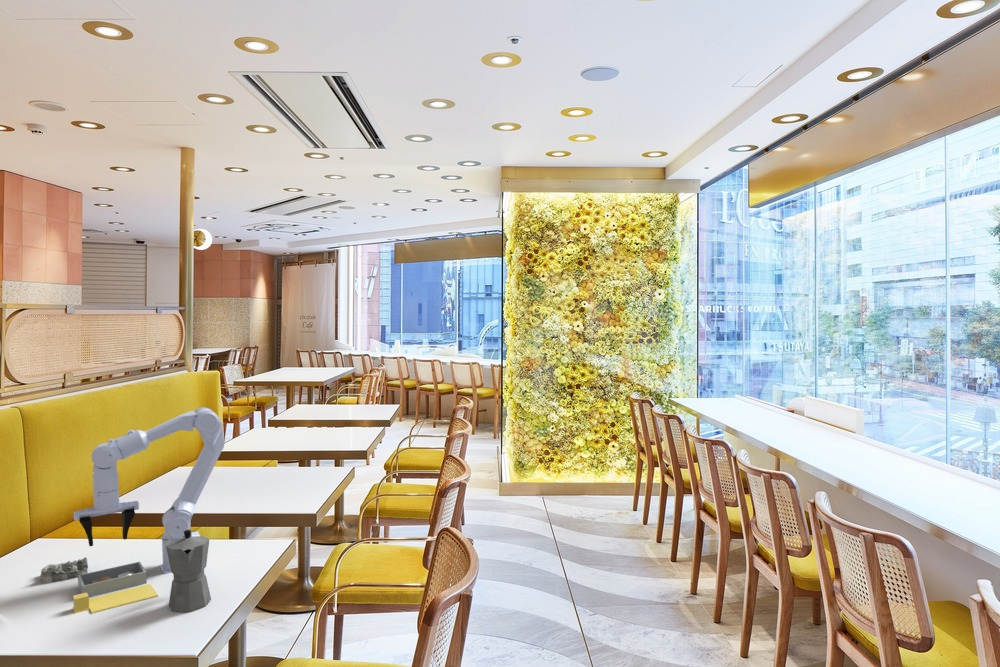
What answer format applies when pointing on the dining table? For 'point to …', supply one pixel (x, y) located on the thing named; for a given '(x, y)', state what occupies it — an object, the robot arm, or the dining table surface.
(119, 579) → the tub
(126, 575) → the grey rounded puck
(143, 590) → the lid
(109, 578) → the walnut block
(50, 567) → the egg carton
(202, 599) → the coffeepot
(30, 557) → the dining table surface
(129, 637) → the dining table surface
